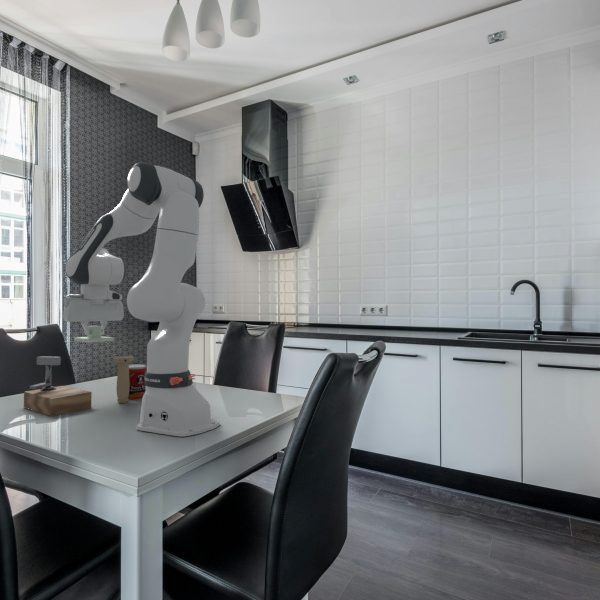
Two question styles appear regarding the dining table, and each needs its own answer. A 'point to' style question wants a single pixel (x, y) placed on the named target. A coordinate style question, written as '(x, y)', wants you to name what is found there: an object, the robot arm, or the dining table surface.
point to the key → (48, 362)
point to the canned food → (137, 381)
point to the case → (57, 400)
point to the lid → (94, 336)
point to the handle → (123, 377)
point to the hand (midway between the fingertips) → (94, 334)
